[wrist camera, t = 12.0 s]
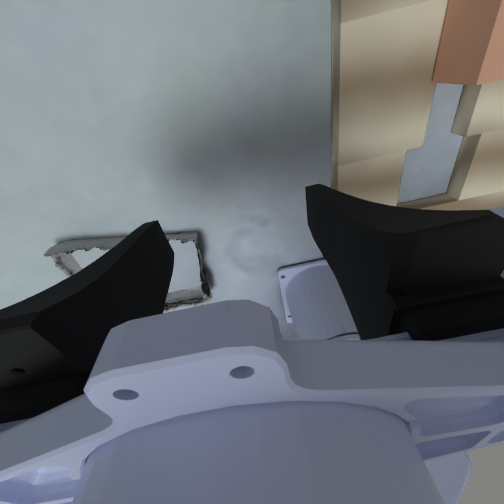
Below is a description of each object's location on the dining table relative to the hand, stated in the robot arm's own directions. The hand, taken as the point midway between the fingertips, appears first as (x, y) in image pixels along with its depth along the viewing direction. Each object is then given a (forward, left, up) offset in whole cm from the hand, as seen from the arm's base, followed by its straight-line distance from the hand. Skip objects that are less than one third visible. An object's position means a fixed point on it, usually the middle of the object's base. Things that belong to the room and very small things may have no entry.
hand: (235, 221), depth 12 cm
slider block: (+5, -16, -9) cm, 19 cm away
